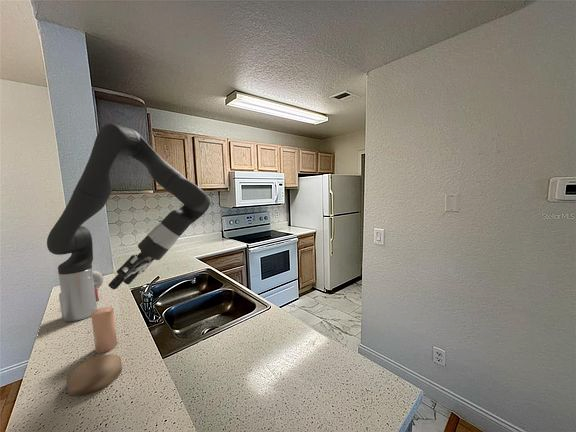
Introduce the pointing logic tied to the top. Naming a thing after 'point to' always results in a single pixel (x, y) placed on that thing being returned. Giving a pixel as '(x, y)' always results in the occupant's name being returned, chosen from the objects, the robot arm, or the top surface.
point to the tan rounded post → (104, 329)
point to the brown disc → (94, 375)
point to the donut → (98, 278)
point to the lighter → (96, 290)
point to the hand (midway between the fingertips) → (118, 285)
